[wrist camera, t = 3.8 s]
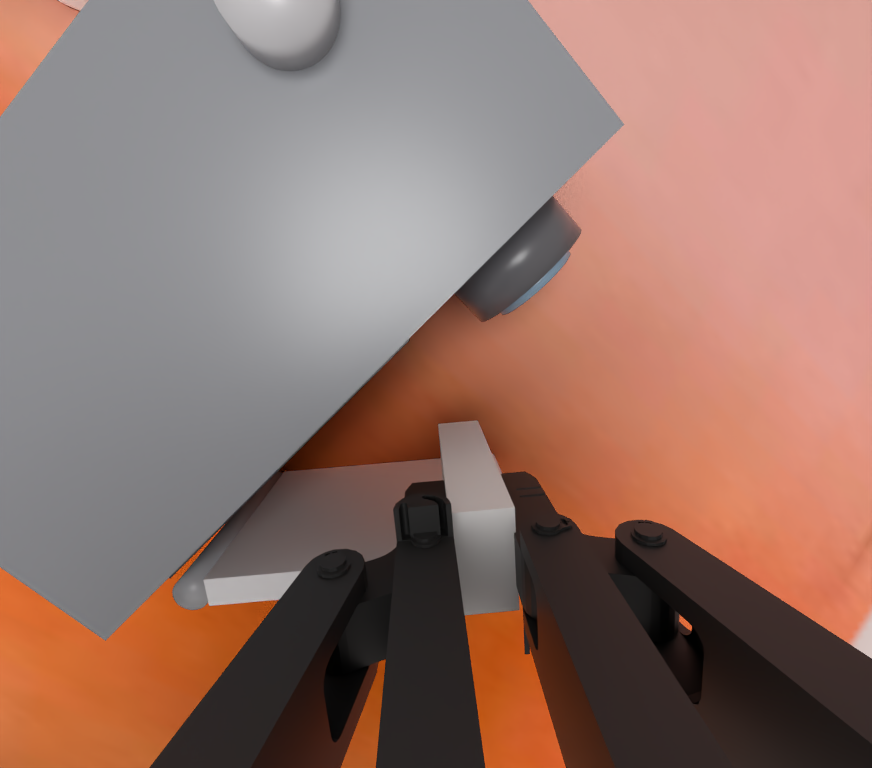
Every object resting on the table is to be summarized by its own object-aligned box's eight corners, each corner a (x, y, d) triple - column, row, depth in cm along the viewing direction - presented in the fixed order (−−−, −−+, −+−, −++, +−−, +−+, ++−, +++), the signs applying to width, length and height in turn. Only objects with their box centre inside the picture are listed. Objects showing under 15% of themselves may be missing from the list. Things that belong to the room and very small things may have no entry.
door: (269, 508, 23) (182, 634, 14) (262, 471, 22) (169, 579, 14) (495, 488, 23) (537, 601, 15) (493, 451, 23) (535, 547, 14)
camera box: (271, 511, 23) (137, 709, 12) (81, 353, 21) (-286, 423, 10) (552, 236, 20) (699, 177, 10) (367, 23, 18) (289, -363, 7)
